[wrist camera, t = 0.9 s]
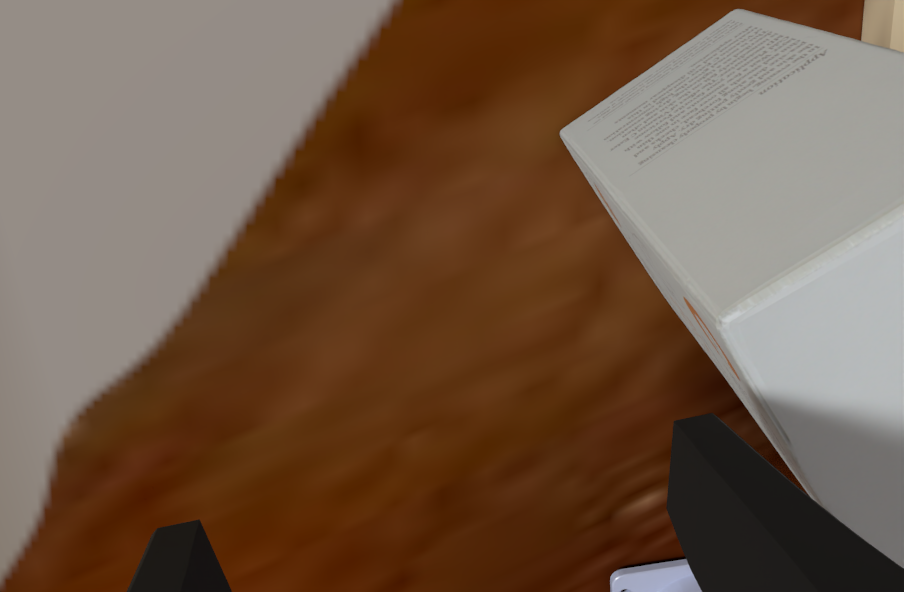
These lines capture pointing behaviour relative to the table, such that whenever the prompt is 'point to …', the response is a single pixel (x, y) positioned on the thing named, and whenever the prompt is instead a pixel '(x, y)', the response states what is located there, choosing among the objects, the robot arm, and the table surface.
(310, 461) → the table surface
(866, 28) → the oak strip
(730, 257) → the small box
